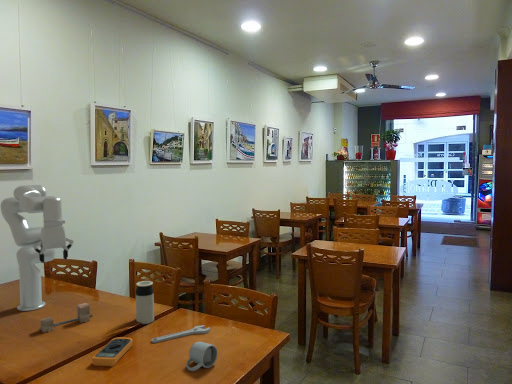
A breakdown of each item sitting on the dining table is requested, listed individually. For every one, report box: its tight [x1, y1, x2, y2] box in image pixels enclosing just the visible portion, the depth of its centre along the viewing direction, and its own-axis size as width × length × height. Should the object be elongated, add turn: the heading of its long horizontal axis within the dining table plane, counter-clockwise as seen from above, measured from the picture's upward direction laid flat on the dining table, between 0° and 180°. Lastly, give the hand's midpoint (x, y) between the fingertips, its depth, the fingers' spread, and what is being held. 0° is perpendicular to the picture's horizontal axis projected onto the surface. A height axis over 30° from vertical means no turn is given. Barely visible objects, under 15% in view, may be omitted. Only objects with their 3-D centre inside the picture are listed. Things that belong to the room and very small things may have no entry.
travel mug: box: [135, 280, 155, 325], centre depth 178 cm, size 8×8×18 cm
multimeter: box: [91, 336, 134, 367], centre depth 146 cm, size 9×18×3 cm, turn 174°
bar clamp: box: [39, 313, 93, 334], centre depth 172 cm, size 6×22×5 cm, turn 133°
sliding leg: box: [76, 302, 91, 324], centre depth 176 cm, size 5×4×7 cm
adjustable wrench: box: [151, 324, 211, 344], centre depth 164 cm, size 25×6×2 cm, turn 116°
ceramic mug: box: [185, 341, 219, 372], centre depth 138 cm, size 11×8×8 cm
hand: (54, 260), depth 179 cm, fingers open, 9 cm apart
